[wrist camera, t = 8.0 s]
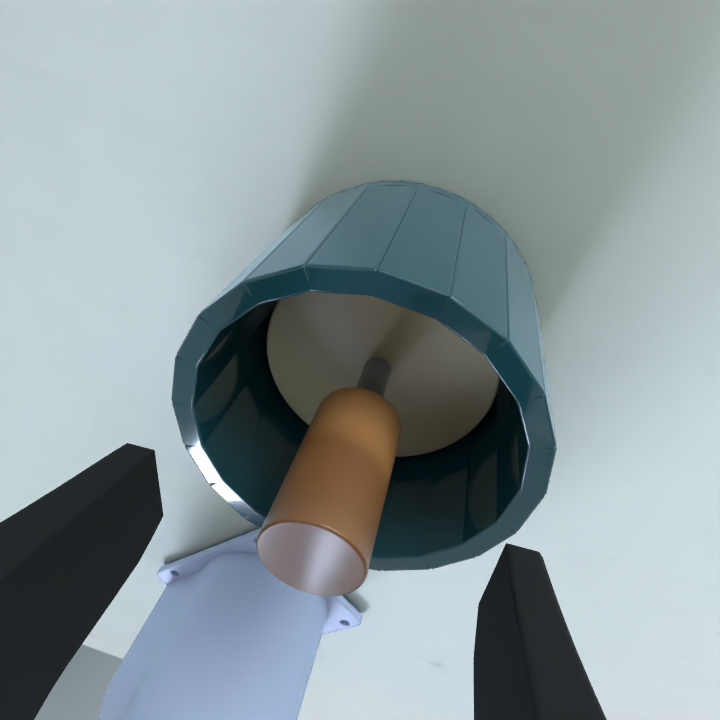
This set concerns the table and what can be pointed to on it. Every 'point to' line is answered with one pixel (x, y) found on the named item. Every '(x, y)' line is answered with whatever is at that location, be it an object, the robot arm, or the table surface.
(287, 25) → the table surface
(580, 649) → the table surface
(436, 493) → the teal drum lampshade
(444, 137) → the table surface
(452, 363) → the disc with orange handle
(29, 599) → the robot arm
